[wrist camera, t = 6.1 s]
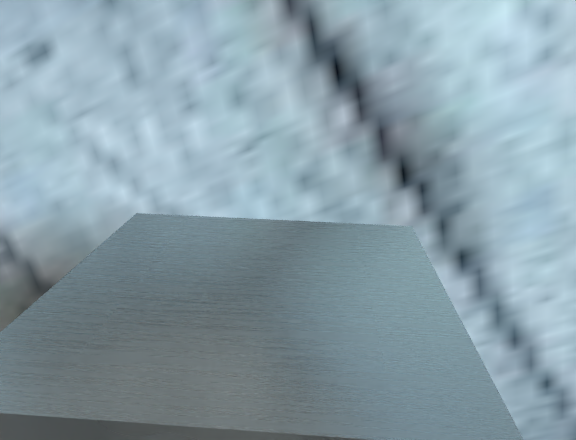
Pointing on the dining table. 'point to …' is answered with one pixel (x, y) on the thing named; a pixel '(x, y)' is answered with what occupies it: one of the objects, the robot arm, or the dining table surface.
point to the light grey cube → (247, 340)
